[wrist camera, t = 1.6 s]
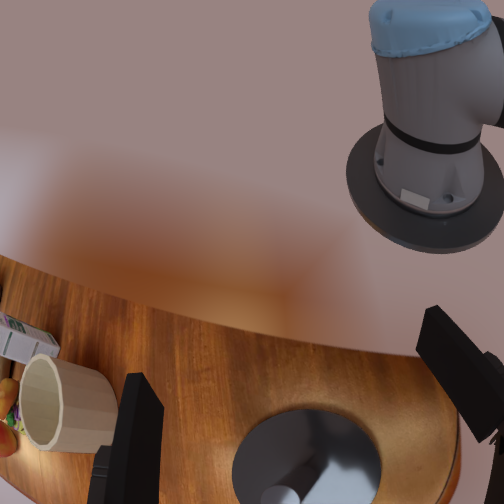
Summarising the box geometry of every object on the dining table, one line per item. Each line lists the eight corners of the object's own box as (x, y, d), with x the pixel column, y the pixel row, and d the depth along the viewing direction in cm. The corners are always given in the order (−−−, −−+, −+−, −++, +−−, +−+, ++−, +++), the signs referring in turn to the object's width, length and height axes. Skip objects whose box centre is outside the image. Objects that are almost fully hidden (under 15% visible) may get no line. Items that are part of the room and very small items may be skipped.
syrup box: (61, 347, 42) (-6, 319, 30) (50, 373, 40) (-16, 349, 29) (51, 333, 45) (-10, 304, 33) (41, 357, 43) (-20, 332, 32)
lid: (310, 379, 27) (288, 371, 20) (411, 470, 18) (426, 496, 11) (210, 464, 25) (161, 475, 18) (296, 552, 17) (269, 591, 10)
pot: (96, 352, 38) (47, 334, 31) (132, 427, 31) (75, 422, 23) (58, 397, 37) (13, 386, 30) (86, 466, 29) (35, 464, 22)
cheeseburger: (31, 447, 34) (-12, 429, 28) (29, 407, 42) (-9, 388, 36) (48, 427, 35) (0, 406, 28) (45, 384, 43) (4, 362, 36)
